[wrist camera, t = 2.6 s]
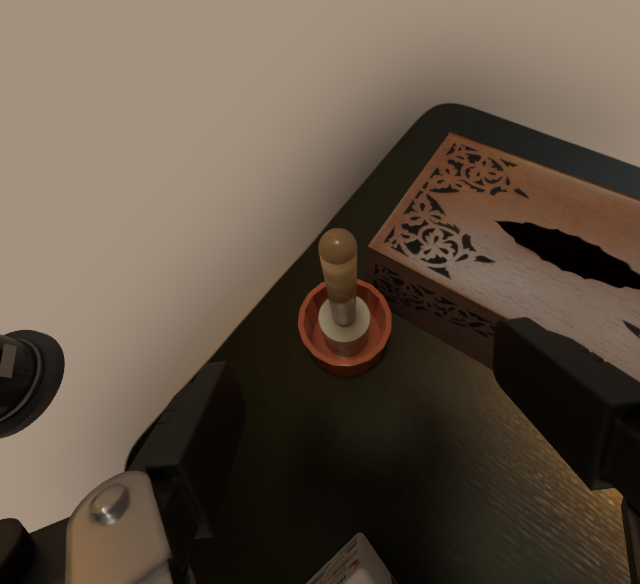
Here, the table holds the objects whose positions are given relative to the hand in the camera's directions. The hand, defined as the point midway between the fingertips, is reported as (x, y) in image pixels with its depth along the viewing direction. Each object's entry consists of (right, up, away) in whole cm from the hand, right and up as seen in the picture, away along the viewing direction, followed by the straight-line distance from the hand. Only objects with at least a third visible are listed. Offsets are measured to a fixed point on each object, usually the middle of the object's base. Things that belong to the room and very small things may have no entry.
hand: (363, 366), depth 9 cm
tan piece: (+1, -2, +22) cm, 22 cm away
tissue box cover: (+18, +1, +23) cm, 29 cm away
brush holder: (+1, -2, +23) cm, 23 cm away
